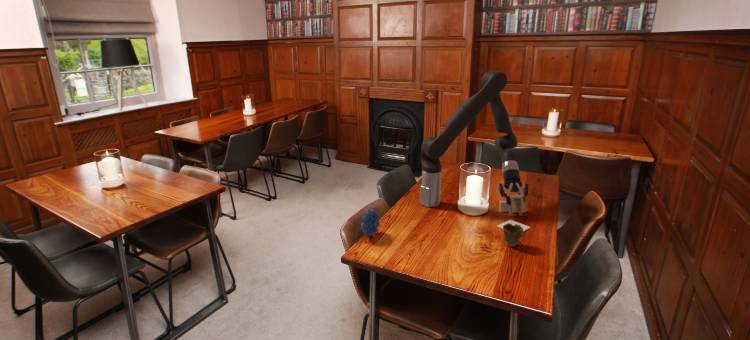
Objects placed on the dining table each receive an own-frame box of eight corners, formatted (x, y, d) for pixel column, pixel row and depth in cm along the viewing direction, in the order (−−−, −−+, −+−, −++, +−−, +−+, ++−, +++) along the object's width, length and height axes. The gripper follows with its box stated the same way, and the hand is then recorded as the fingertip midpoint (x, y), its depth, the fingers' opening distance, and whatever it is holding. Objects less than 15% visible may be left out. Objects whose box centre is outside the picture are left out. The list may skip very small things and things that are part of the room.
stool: (524, 219, 180) (527, 199, 177) (512, 219, 180) (514, 199, 177) (517, 210, 189) (519, 192, 186) (506, 210, 189) (508, 191, 186)
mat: (517, 234, 166) (517, 233, 166) (496, 226, 174) (496, 225, 174) (530, 227, 172) (530, 227, 172) (510, 220, 180) (510, 219, 180)
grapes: (371, 244, 159) (370, 216, 156) (357, 239, 163) (356, 212, 159) (386, 233, 168) (387, 206, 165) (373, 228, 172) (373, 203, 168)
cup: (522, 243, 159) (524, 224, 157) (520, 251, 153) (522, 232, 151) (502, 239, 162) (504, 221, 160) (500, 247, 156) (501, 229, 154)
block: (525, 212, 188) (526, 202, 187) (499, 212, 188) (500, 202, 187) (524, 210, 190) (525, 201, 188) (499, 210, 190) (499, 201, 188)
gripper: (497, 168, 187) (502, 201, 180) (528, 168, 187) (534, 201, 180) (493, 175, 194) (498, 207, 186) (523, 175, 194) (529, 208, 186)
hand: (516, 204), depth 183 cm, fingers closed on stool, 5 cm apart
